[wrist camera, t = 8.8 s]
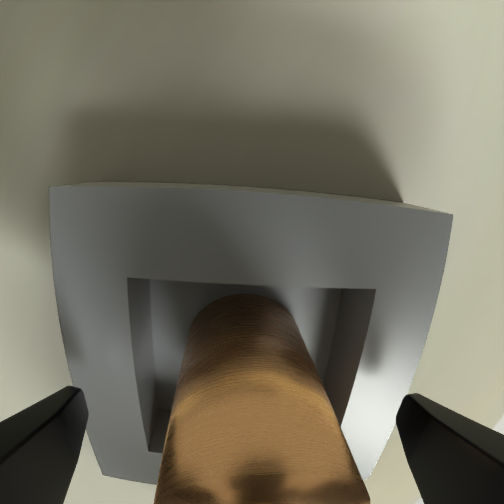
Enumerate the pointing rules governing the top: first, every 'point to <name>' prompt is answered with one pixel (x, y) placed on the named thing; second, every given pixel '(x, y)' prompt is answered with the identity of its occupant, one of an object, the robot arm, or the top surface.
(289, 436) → the battery cell
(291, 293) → the gray cradle
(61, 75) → the top surface
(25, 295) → the top surface
